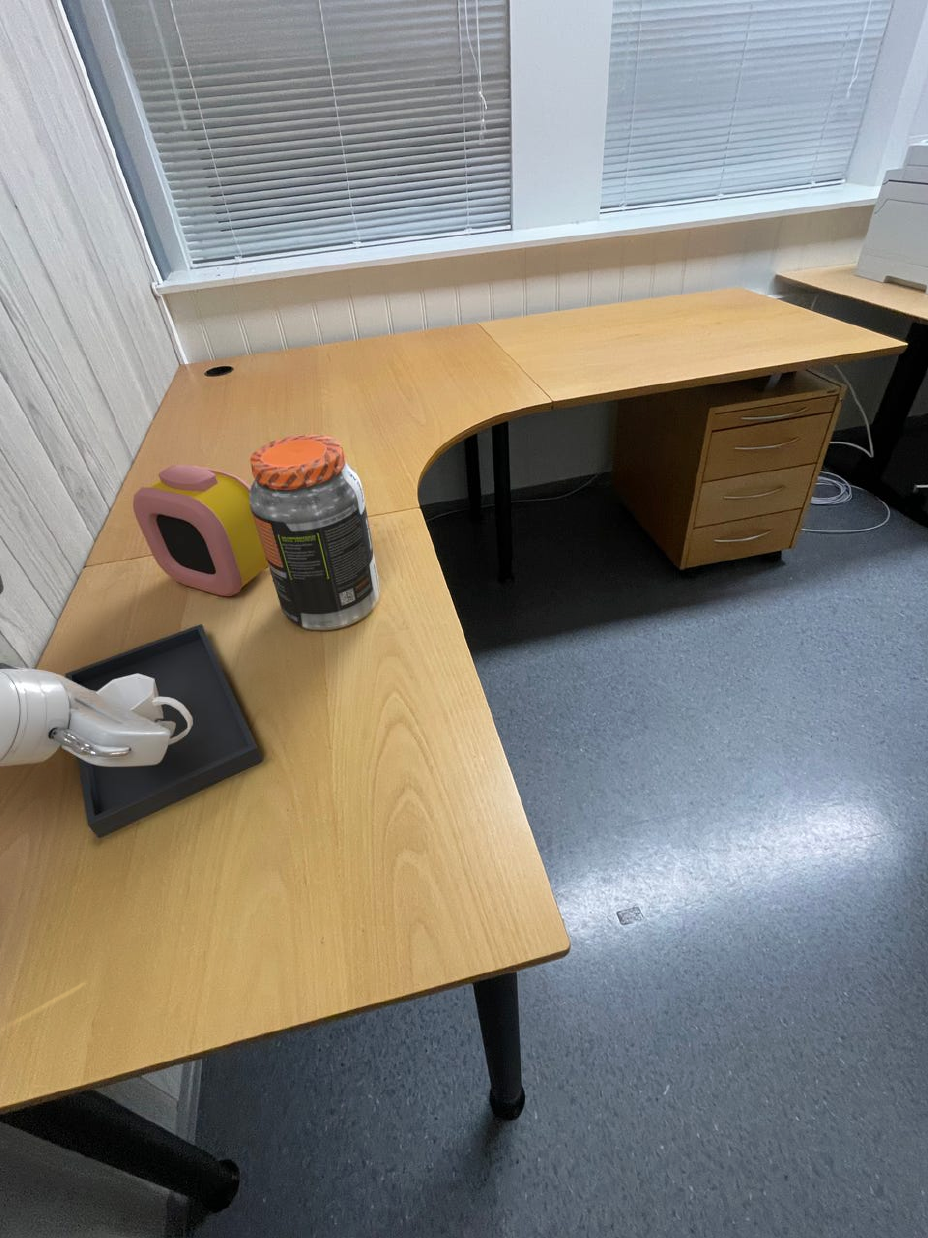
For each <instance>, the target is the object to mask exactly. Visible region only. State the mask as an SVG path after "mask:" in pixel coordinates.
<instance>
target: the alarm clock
mask: <svg viewBox="0 0 928 1238" xmlns="http://www.w3.org/2000/svg"><path fill="white" fill-rule="evenodd" d="M157 475H158V478H159V479H158V480H157V481H155V482H153V483H152V484H150V485H148V486H146V487H145V486H144V487H141V488H140V489H138V491H136V493H135V494H134V495H133V501H132V509H133V512H134V515H135V519H136V521H137V524H138V525H139V528H140V530H141V532H142V535H143V536H144V538H145V541H146V543H147V546H148V548H149V550H150V552H151V555H152V556H153V559H154V560H155V562H156V563H157V565H158V566H159V567H160V568H161V570H162V571H163V572H164V573H165V574H166V575H167V576H169V577H170V578H171V579H172V580H174V581H176V582H178V583H179V584H182V585H184V586H187V587H189V588H190V587H191V588H194V589H198V590H201V591H203V592H207V593H211V594H214V595H217V596H222V597H232V596H234V595H236V594H238V593H240V592H241V590H242V588H243V587H245V585H247V584H248V583H249V582H251V580H253V579H254V578H255V577H257V576H258V575H259V574H260V573H261V572H263V571H264V570H265V569H267V568H269V566H268V562H267V559H266V556H265V553H264V550H263V546H262V543H261V540H260V537H259V534H258V530H257V527H256V524H255V521H254V518H253V514H252V511H251V508H250V503H249V494H250V489H251V486H250V485H249V484H248V483H247V482H245V481H244V480H243V479H242V478H240V477H239V476H236V475H234V474H232V473H229V472H227V471H221V470H217V469H212V468H207V467H202V466H198V465H185V464H172V465H171V466H169V467H166V468H164V469H163V470H162V471H159V472H158V474H157Z"/></svg>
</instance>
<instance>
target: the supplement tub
mask: <svg viewBox="0 0 928 1238" xmlns="http://www.w3.org/2000/svg"><path fill="white" fill-rule="evenodd" d="M249 463H250V467H251V475H252V477H253V478H254V481H253V482H252V484H251V486H250V487H251V489H250V494H249V503H250V508H251V511H252V514H253V518H254V521H255V524H256V527H257V530H258V534H259V537H260V540H261V543H262V546H263V550H264V553H265V556H266V559H267V562H268V566H269V567H268V568H269V572H270V575H271V579H272V582H273V585H274V588H275V592H276V595H277V598H278V601H279V605H280V608H281V610H282V613H283V614H284V616H285V617H286V618H287V619H288V621H290V622H291V623H292V624H294V625H296V626H298V627H300V628H303V629H305V630H306V629H307V630H310V631H330V630H337V629H342V628H346V627H348V626H350V625H354V624H356V623H357V622H359V621H361V620H362V619H364V618H365V617H367V616H368V615H369V614H370V613H371V612H372V611H373V610H374V609H375V606H376V605H377V603H378V600H379V597H380V583H379V576H378V571H377V570H378V569H377V563H376V559H375V553H374V546H373V541H372V535H371V527H370V524H369V518H368V512H367V507H366V501H365V495H364V491H363V485H362V481H361V479H360V477H359V476H358V474H357V472H356V471H355V470H354V469H353V468H352V467H351V466H350V465H349V464H348V463H347V457H346V455H345V452H344V448H343V445H342V443H341V442H340V441H339V440H337V439H336V438H334V437H331V436H328V435H321V434H300V435H292V436H286V437H282V438H279V439H276V440H273V441H270V442H267V443H266V444H264V445H262V446H260V447H259V448H258V449H256V450H255V451H254V452H253V453H252V455H251V456H250V459H249Z"/></svg>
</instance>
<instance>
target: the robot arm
mask: <svg viewBox="0 0 928 1238" xmlns="http://www.w3.org/2000/svg"><path fill="white" fill-rule="evenodd" d="M4 587H5V586H4V582H3V578H2V574H0V595H2V593H4V590H5V588H4ZM96 692H97V691H93V690H89V689H87V688H85V687H83V686H81V685H79V684H77V683H75V682H73V681H71V680H69V679H67V678H65V676H63V675H61V674H59V673H56V672H53V671H49V670H43V669H37V668H30V667H29V668H28V667H20V666H12V665H10V664H7V663H5V662H1V661H0V767H8V766H19V765H30V764H38V763H42V762H44V761H46V760H48V759H50V758H51V757H52V756H53V755H54V754H55V753H56V752H57V751H58V750H59V748H62V749H63V750H65V751H67V752H68V753H70V754H72V755H74V756H75V757H79V758H81V759H82V760H84V761H86V762H88V763H91V764H94V765H98V766H106V767H129V766H148V765H156V764H158V763H160V762H161V760H162V759H163V757H164V755H165V753H166V750H167V747H168V744H169V740H170V737H171V736H172V735H173V733H174V730H175V727H176V723H174V722H172V721H171V720H168V719H166V718H163V719H161V718H155V721H154V722H153V721H151V720H149V719H147V718H145V717H143V716H141V715H139V714H137V713H135V712H133V711H131V710H129V709H127V708H125V707H123V706H121V705H119V704H117V703H115V702H113V701H111V700H109V699H107V698H105V697H103V696H101V695H99V694H97V693H96Z"/></svg>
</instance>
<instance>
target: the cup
mask: <svg viewBox="0 0 928 1238" xmlns="http://www.w3.org/2000/svg"><path fill="white" fill-rule="evenodd" d="M96 693H97V694H99V695H101V696H103V697H105V698H107V699H109V700H111V701H113V702H115V703H117V704H119V705H121V706H123V707H125V708H127V709H129V710H131V711H133V712H135V713H137V714H139V715H141V716H143V717H145V718H147V719H149V720H151V721H153V722H154V721H155V718H161V719H163V710H162V707H161V705H162V704H168V705H171V706H172V707H174V708H176V709H177V710H179V711H180V713H181V714H182V715H183V716H184V718H185V719H186V721H187V723H188V728H187V729H186V730H184V731H183V732H182V733H180V734H179V735H178V736H175V737H173V738H170V740H169V744H168V745H170V744H172V743H175V742H177V741H179V740H180V739H181V738H183V737H184V736H185V735H187V733H188V732H189V730H190V729H191V727H192V725H193V718H192V716H191V715H190V713H189V711H188V710H187V709H186V708H185V706H184V705H183V704H182V703H180V702H178V701H177V700H175V699H173V698H169V697H159V696H158V691H157V687H156V683H155V680H154V678H151V677H148V676H144V675H141V674H138V673H137V674H133V675H129V676H125V677H121V678H117V679H114V680H112V681H111V682H109V683H108V684H107V685H105V686H104V687H102V688H101V689H100V690H98V691H97V692H96Z"/></svg>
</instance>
